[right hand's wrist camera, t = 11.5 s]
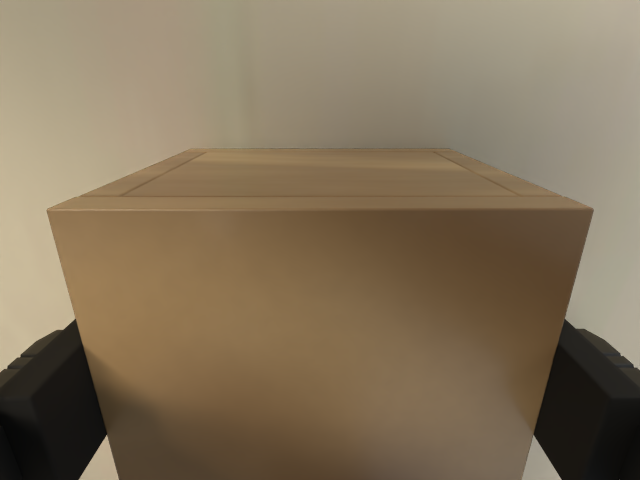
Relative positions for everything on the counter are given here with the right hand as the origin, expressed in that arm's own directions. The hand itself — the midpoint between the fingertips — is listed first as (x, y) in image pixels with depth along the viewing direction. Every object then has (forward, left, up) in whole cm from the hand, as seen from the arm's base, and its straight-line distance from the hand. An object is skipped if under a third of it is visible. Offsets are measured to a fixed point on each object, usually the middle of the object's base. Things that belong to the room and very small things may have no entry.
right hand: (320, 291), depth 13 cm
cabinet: (+3, -2, -4) cm, 6 cm away
